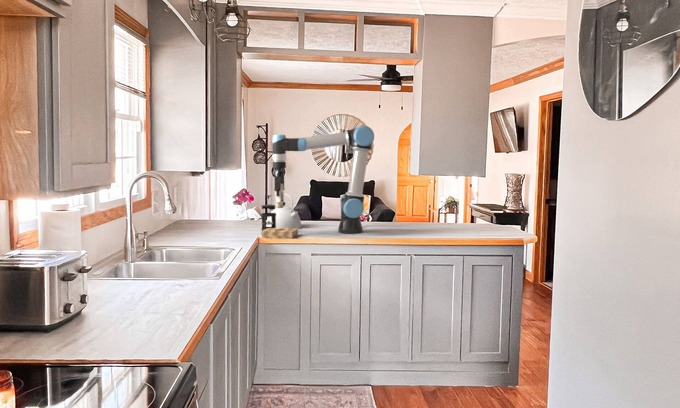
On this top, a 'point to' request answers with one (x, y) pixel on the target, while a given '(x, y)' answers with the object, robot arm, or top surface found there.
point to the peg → (280, 204)
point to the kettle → (285, 217)
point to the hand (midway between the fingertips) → (279, 201)
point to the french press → (264, 215)
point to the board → (280, 233)
